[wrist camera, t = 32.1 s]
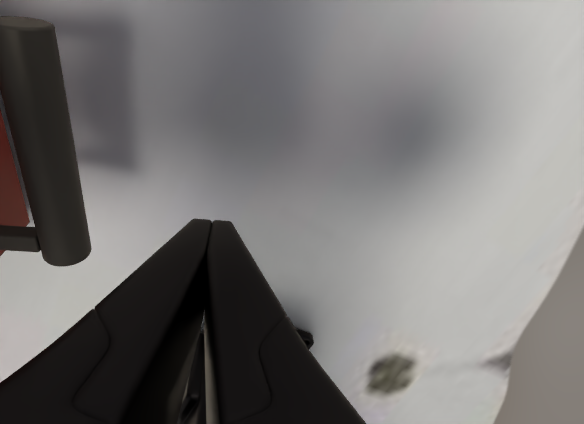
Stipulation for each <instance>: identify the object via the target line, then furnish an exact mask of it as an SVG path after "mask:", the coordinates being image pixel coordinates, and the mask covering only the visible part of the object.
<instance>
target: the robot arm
mask: <svg viewBox="0 0 584 424" xmlns="http://www.w3.org/2000/svg"><path fill="white" fill-rule="evenodd" d="M204 310H205V313H204ZM203 316H204V330H203V332H202V333H201V332H200V330H201V326H202V321H203ZM286 316H287V315H286V313H285V311H284V309H283V308H282V306H281V304H280V303H279V301H278V299H277V298H276V296H275V294H274V292H273V291H272V289H271V287H270V286H269V284H268V282H267V281H266V279H265V277H264V276H263V274H262V272H261V271H260V269H259V267H258V266H257V264H256V262H255V261H254V259H253V257H252V256H251V254H250V252H249V251H248V249H247V247H246V246H245V244H244V242H243V240H242V239H241V237H240V235H239V234H238V232H237V230H236V229H235V227H234V225H233V224H232V222H230V221H220V220H215V221H213V222H212V221H211V220H206V219H193V220H191V221H190V222H189V223H188V224H187V225H186V226H185V227H183V228H182V229H181V230H180V231H179V232H178V233H177V234H176V235H175V236H173V237H172V238H171V239H170V240H169V241H168V242H167V243H166V244H164V245H163V246H162V247H161V248H160V249H159V250H158V251H157V252H156V253H154V254H153V255H152V256H151V257H150V258H149V259H148V260H147V261H145V262H144V263H143V264H142V265H141V266H140V267H139V268H138V269H137V270H135V271H134V272H133V273H132V274H131V275H130V276H129V277H128V278H127V279H125V280H124V281H123V282H122V283H121V284H120V285H119V286H118V287H116V288H115V289H114V290H113V291H112V292H111V293H110V294H109V295H108V296H106V297H105V298H104V299H103V300H102V301H101V302H100V303H99V304H97V305H96V306H95V309H92V310H91V311H89V312H88V313H87V314H86V315H85V316H84V317H83V318H82V319H80V320H79V321H78V322H77V323H76V324H75V325H74V326H72V327H71V328H70V329H69V330H68V331H67V332H65V333H64V334H63V335H62V336H61V337H59V338H58V339H57V340H56V341H55V342H54V343H52V344H51V345H50V346H48V347H47V348H46V349H45V350H43V351H42V352H41V353H39V354H38V355H37V356H35V357H34V358H33V359H32V360H30V361H29V362H28V363H26V364H25V365H24V366H22V367H21V368H20V369H18V370H17V371H16V372H14V373H13V374H12V375H10V376H9V377H8V378H6V379H5V380H4V381H2V382H1V383H0V424H366V423H365V421H364V420H363V419H362V418H361V416H360V415H359V414H358V413H357V411H356V410H355V409H354V407H353V406H352V405H351V404H350V402H349V401H348V400H347V399H346V397H345V396H344V395H343V394H342V392H341V391H340V390H339V389H338V387H337V386H336V385H335V383H334V382H333V381H332V380H331V378H330V377H329V376H328V375H327V373H326V372H325V371H324V369H323V368H322V367H321V365H320V364H319V363H318V361H317V360H316V359H315V357H314V356H313V355H312V353H311V352H310V351H309V349H310V347H311V346H312V345H313V343H314V342H313V335H312V334H311V333H308V332H305V331H302V330H298V329H295V327H294V326H293V324H292V322H291V321H290V319H289V317H286Z"/></svg>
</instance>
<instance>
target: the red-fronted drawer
mask: <svg viewBox="0 0 584 424" xmlns="http://www.w3.org/2000/svg"><path fill="white" fill-rule="evenodd" d="M0 91H1V95H2V99H3V103H4V106H5V110H6V114H7V118H8V122H9V126H10V130H11V134H12V138H13V142H14V146H15V150H16V154H17V158H18V161H19V165H20V169H21V173H22V177H23V181H24V185H25V189H26V193H27V197H28V201H29V205H30V209H31V212H32V216H33V220H34V224H35V227H26V226H27V225H28V223H29V222H30V221H29V217H28V213H27V209H26V205H25V202H24V198H23V194H22V190H21V186H20V182H19V179H18V175H17V171H16V167H15V163H14V160H13V156H12V152H11V148H10V144H9V140H8V137H7V133H6V129H5V125H4V121H3V118H2V114H1V110H0V256H1V255H2V254H3V253H4V251H5V250H11V251H28V252H39V251H40V250H41V252H42V256H43V259H44V260H45V261H46V262H47V263H49V264H51V265H54V266H70V265H74V264H77V263H79V262H81V261H83V260H84V259H86V258H87V257H88V256H89V254H90V252H91V243H90V237H89V231H88V225H87V219H86V213H85V207H84V201H83V195H82V189H81V183H80V177H79V170H78V164H77V158H76V152H75V146H74V140H73V134H72V128H71V122H70V116H69V110H68V104H67V98H66V92H65V86H64V80H63V74H62V68H61V62H60V56H59V50H58V44H57V38H56V32H55V27H54V25H53V24H52V23H49V22H47V21H44V20H40V19H34V18H26V17H12V16H0Z"/></svg>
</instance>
